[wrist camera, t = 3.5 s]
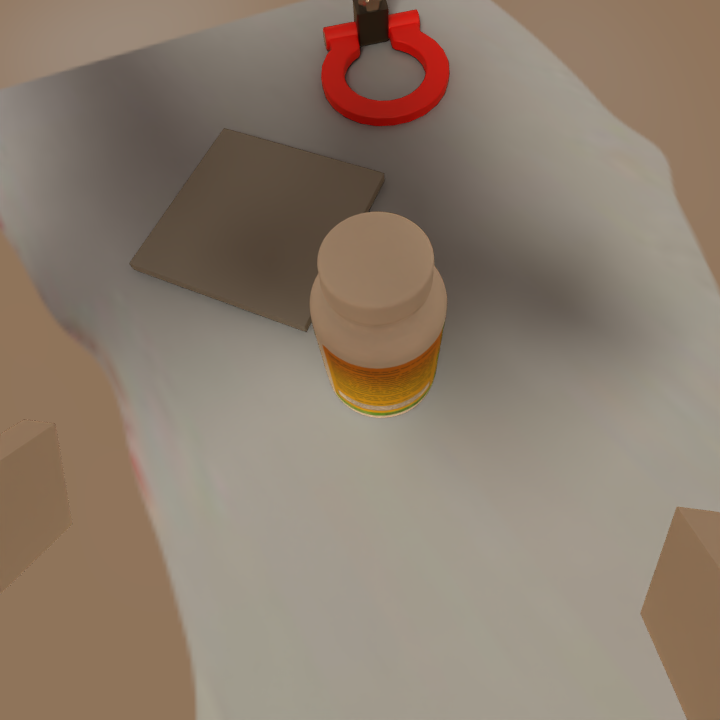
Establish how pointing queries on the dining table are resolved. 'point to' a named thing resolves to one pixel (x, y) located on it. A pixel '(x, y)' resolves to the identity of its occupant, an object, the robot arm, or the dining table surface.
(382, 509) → the dining table surface
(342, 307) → the supplement bottle
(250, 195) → the coaster
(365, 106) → the tow hook
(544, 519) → the dining table surface
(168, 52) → the dining table surface
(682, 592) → the robot arm
